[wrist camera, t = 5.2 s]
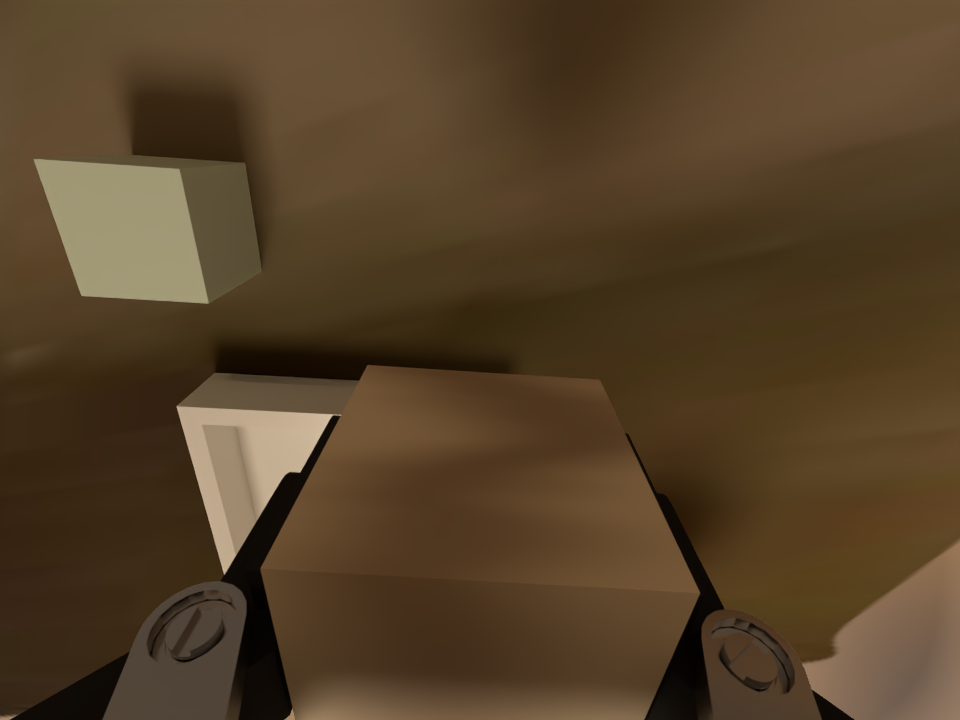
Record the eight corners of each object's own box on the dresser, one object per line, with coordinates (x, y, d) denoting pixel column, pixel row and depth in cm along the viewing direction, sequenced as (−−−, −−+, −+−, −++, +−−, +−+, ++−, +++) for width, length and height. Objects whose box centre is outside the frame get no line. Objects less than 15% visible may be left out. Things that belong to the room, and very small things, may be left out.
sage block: (246, 162, 20) (179, 169, 16) (262, 270, 22) (208, 303, 18) (133, 154, 20) (33, 158, 15) (161, 264, 22) (81, 295, 18)
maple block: (599, 379, 10) (700, 592, 5) (564, 543, 12) (612, 791, 7) (367, 364, 9) (260, 568, 5) (376, 532, 12) (308, 777, 7)
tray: (499, 388, 25) (502, 423, 22) (478, 603, 34) (478, 651, 31) (215, 372, 25) (176, 406, 22) (265, 595, 33) (243, 642, 30)
